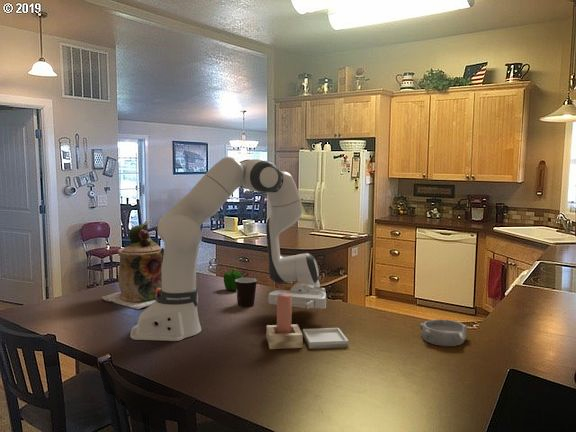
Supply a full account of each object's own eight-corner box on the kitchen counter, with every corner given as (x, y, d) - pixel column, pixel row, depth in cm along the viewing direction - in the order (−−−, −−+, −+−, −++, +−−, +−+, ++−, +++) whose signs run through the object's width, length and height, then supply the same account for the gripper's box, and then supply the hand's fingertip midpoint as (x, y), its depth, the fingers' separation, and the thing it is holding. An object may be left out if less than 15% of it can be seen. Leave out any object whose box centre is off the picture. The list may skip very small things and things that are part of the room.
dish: (466, 336, 156) (466, 321, 155) (467, 350, 143) (468, 334, 142) (420, 330, 160) (421, 316, 160) (417, 344, 147) (418, 329, 147)
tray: (309, 348, 142) (309, 342, 142) (302, 335, 154) (302, 329, 154) (348, 347, 144) (348, 340, 144) (338, 333, 156) (338, 327, 155)
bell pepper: (222, 288, 214) (222, 266, 213) (240, 287, 216) (240, 265, 215) (224, 292, 206) (224, 270, 205) (243, 291, 208) (243, 269, 207)
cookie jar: (99, 300, 192) (96, 222, 188) (146, 288, 212) (145, 217, 209) (140, 310, 179) (139, 226, 176) (186, 296, 199) (186, 221, 196)
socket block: (269, 349, 141) (269, 336, 141) (266, 337, 151) (266, 325, 151) (302, 347, 143) (302, 334, 142) (297, 336, 153) (297, 324, 152)
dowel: (277, 345, 144) (278, 297, 143) (275, 340, 149) (276, 293, 148) (292, 344, 145) (292, 297, 144) (290, 339, 150) (290, 293, 148)
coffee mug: (253, 308, 183) (253, 283, 182) (232, 307, 184) (232, 282, 183) (261, 300, 194) (261, 276, 193) (240, 299, 196) (241, 275, 195)
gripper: (274, 284, 172) (262, 293, 159) (329, 288, 167) (322, 298, 154) (273, 301, 173) (262, 311, 159) (329, 306, 167) (321, 317, 154)
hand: (292, 305), depth 156 cm, fingers open, 8 cm apart
